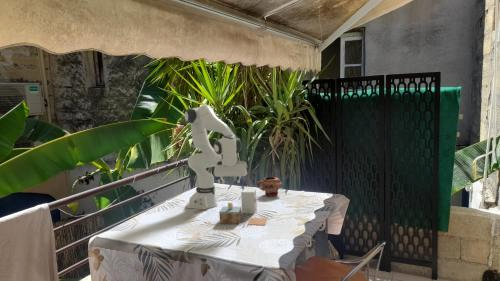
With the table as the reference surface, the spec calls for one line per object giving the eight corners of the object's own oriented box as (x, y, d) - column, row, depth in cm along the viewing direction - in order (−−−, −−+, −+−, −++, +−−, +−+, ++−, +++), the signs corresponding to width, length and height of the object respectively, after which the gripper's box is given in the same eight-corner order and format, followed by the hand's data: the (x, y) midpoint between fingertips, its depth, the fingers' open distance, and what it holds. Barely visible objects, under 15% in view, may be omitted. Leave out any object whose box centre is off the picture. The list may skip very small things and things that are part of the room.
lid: (219, 214, 218) (219, 205, 217) (223, 209, 228) (222, 200, 227) (238, 215, 216) (238, 205, 215) (241, 209, 226) (240, 200, 225)
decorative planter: (257, 198, 270) (257, 180, 268) (256, 193, 282) (255, 176, 280) (283, 196, 271) (282, 179, 269) (280, 192, 283) (280, 175, 282)
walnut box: (219, 224, 219) (219, 213, 218) (223, 218, 229) (223, 207, 228) (238, 224, 217) (238, 213, 216) (241, 218, 227) (241, 208, 226)
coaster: (247, 224, 216) (247, 224, 216) (250, 218, 226) (250, 217, 226) (265, 225, 214) (265, 224, 214) (267, 218, 225) (267, 218, 225)
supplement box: (254, 214, 235) (253, 192, 233) (241, 213, 237) (240, 192, 235) (257, 209, 244) (256, 188, 242) (244, 209, 245) (243, 188, 243)
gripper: (247, 160, 220) (248, 181, 221) (215, 160, 222) (216, 182, 224) (245, 161, 213) (246, 184, 215) (212, 162, 216) (214, 184, 217)
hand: (231, 183), depth 219 cm, fingers open, 8 cm apart
